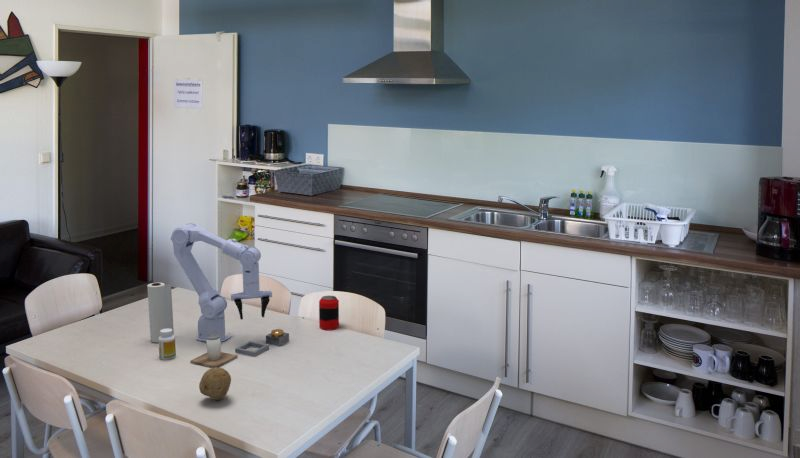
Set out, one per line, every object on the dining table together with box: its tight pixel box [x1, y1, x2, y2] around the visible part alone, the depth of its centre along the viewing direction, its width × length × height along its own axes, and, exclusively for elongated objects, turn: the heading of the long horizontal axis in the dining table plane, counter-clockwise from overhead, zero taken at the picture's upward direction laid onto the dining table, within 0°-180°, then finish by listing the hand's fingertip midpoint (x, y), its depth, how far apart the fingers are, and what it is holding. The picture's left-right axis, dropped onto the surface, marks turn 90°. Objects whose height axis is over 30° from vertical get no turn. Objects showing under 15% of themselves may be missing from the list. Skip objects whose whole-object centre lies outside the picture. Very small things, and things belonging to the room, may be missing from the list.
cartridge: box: [206, 333, 222, 360], centre depth 233 cm, size 5×5×8 cm
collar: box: [234, 340, 270, 358], centre depth 243 cm, size 8×8×2 cm
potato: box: [198, 367, 232, 401], centre depth 203 cm, size 9×9×10 cm
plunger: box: [270, 328, 284, 336], centre depth 251 cm, size 4×4×3 cm
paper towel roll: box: [146, 282, 175, 344], centre depth 250 cm, size 7×6×21 cm
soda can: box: [318, 295, 340, 331], centre depth 268 cm, size 8×8×12 cm
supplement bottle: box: [158, 329, 177, 361], centre depth 236 cm, size 5×5×10 cm
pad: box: [189, 351, 238, 369], centre depth 234 cm, size 11×11×1 cm
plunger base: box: [265, 331, 290, 347], centre depth 251 cm, size 6×6×3 cm
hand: (252, 317), depth 250 cm, fingers open, 7 cm apart
